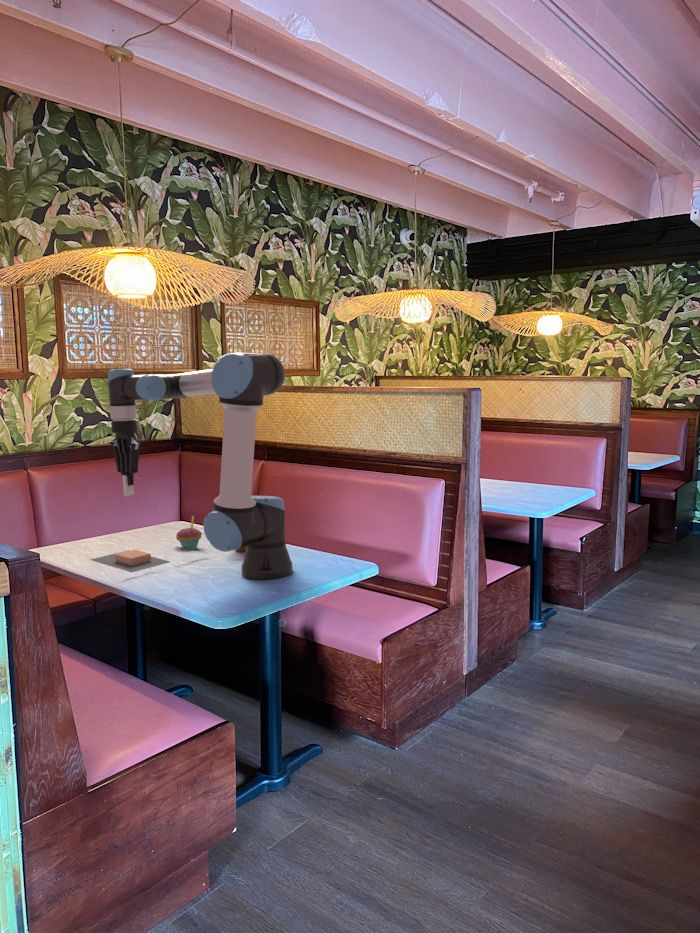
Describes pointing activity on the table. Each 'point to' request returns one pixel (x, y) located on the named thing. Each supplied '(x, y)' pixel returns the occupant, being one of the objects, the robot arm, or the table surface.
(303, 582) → the table surface
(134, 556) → the tile
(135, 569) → the mat
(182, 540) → the cupcake
